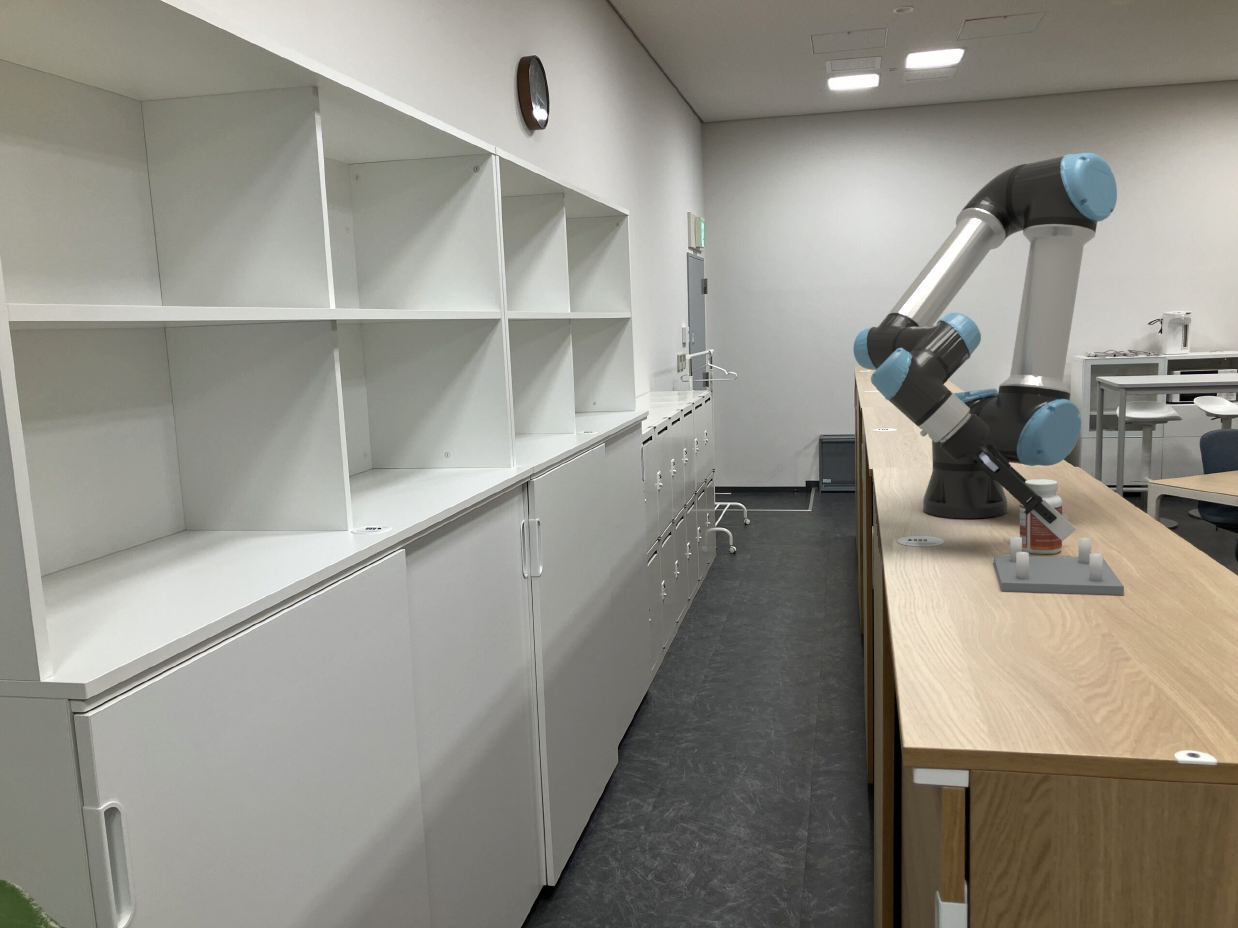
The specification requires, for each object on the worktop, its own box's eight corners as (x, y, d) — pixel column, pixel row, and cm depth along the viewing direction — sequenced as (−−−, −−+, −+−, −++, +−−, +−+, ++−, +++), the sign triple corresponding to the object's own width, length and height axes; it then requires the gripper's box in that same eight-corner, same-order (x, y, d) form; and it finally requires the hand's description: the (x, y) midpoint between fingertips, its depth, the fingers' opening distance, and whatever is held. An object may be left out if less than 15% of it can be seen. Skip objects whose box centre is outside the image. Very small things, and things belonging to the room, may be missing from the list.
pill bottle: (1070, 550, 147) (1071, 480, 145) (1047, 557, 143) (1048, 486, 142) (1034, 543, 152) (1034, 476, 150) (1011, 550, 149) (1011, 482, 147)
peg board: (993, 562, 142) (993, 532, 141) (1102, 565, 137) (1103, 534, 137) (1001, 591, 128) (1001, 557, 127) (1123, 595, 123) (1124, 560, 123)
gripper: (936, 437, 159) (1039, 532, 156) (938, 453, 141) (1055, 561, 138) (969, 405, 156) (1075, 501, 154) (976, 418, 138) (1095, 526, 136)
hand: (1065, 529), depth 146 cm, fingers closed on pill bottle, 6 cm apart
